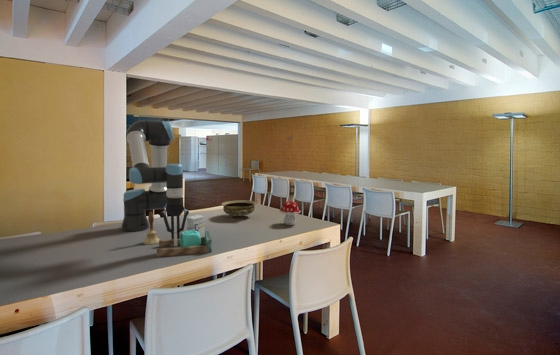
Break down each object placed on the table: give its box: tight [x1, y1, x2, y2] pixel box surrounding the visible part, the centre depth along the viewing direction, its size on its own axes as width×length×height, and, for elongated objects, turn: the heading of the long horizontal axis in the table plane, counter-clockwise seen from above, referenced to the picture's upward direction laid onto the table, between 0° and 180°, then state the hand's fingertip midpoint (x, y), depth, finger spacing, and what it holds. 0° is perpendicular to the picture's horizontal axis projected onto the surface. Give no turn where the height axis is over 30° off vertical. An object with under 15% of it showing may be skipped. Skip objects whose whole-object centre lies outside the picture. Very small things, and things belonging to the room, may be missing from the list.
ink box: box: [186, 214, 206, 237], centre depth 173 cm, size 9×5×12 cm, turn 148°
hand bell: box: [143, 211, 161, 246], centre depth 164 cm, size 8×8×16 cm
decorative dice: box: [179, 230, 202, 247], centre depth 154 cm, size 8×8×8 cm
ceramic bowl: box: [221, 199, 257, 219], centre depth 224 cm, size 30×24×10 cm
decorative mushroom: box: [278, 200, 302, 226], centre depth 205 cm, size 14×14×15 cm
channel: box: [156, 230, 213, 258], centre depth 154 cm, size 24×16×6 cm, turn 107°
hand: (175, 245), depth 153 cm, fingers closed
